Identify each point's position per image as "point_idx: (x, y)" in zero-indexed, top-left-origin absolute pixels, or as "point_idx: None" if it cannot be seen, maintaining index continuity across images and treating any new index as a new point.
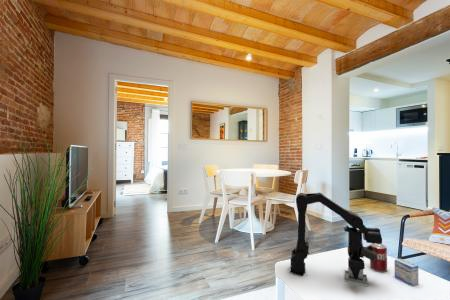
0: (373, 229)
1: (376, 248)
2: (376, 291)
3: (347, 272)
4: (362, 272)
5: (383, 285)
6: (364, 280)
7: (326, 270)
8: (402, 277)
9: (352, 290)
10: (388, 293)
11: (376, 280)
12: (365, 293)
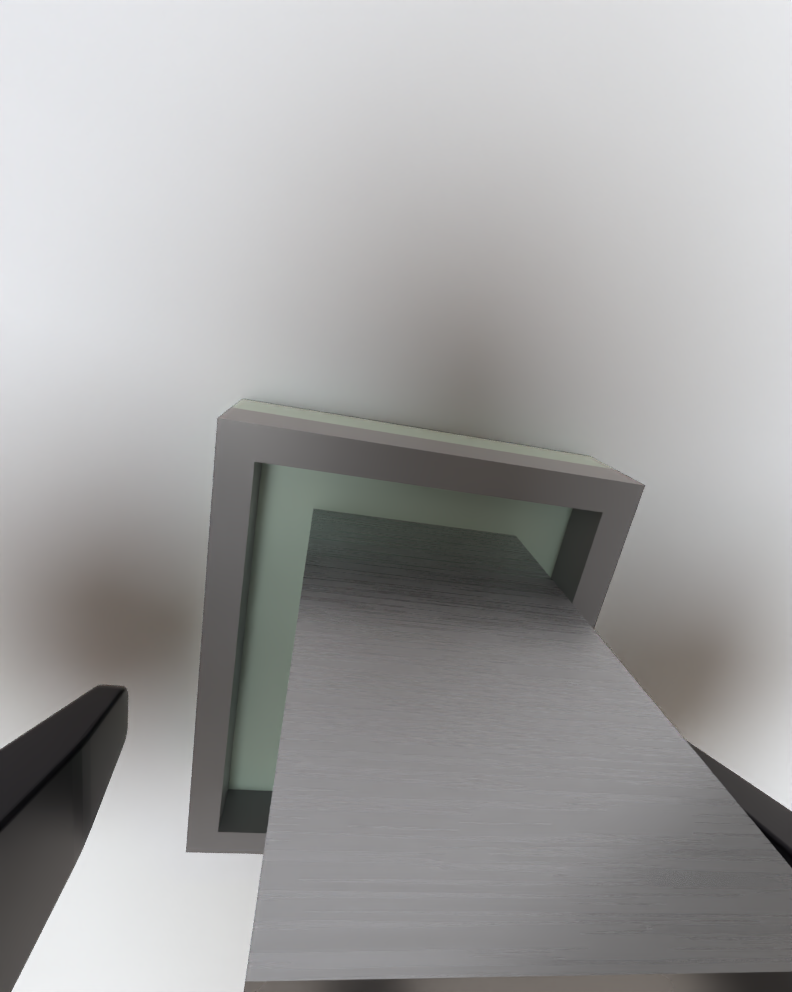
0: None
1: None
2: (722, 328)
3: (226, 786)
4: (630, 708)
5: (445, 27)
6: (437, 498)
7: (194, 980)
8: None
9: (713, 710)
10: (787, 57)
11: (223, 142)
12: (786, 547)
